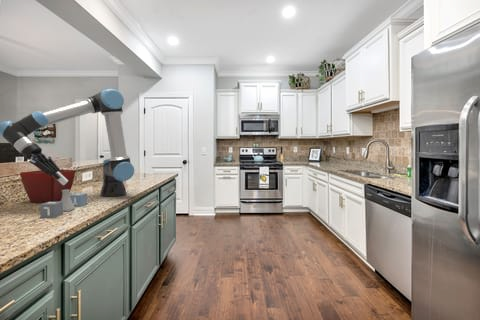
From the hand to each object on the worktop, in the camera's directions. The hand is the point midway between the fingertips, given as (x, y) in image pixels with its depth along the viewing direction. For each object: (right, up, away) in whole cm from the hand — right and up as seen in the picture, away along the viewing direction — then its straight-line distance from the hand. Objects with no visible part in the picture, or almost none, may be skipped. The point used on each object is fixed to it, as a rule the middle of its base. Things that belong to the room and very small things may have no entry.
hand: (65, 183), depth 131 cm
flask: (0, -14, +1) cm, 14 cm away
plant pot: (-25, -12, +24) cm, 36 cm away
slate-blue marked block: (-1, -13, +12) cm, 17 cm away
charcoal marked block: (+1, -14, -10) cm, 17 cm away
